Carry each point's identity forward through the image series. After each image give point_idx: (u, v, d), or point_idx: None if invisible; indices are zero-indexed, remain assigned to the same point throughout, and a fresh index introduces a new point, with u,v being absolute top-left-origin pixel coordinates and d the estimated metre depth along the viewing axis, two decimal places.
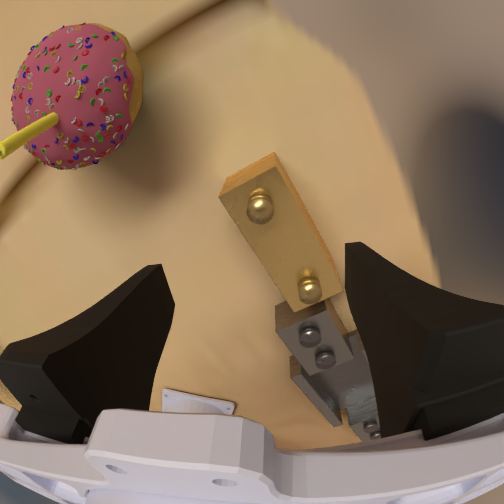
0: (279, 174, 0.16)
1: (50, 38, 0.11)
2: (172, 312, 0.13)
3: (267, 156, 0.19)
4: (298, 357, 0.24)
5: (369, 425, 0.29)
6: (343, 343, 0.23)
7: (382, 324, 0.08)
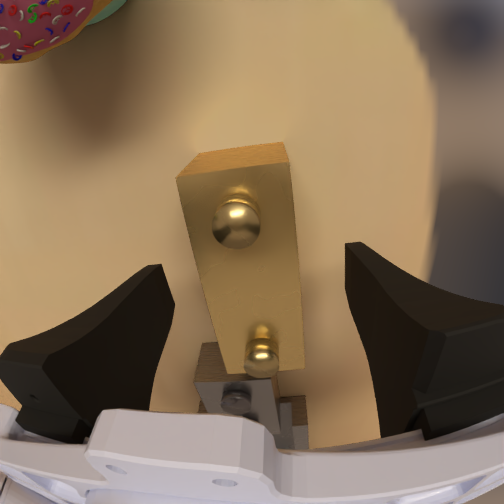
0: (289, 178, 0.09)
1: None
2: (172, 312, 0.13)
3: (271, 144, 0.12)
4: None
5: None
6: (275, 417, 0.17)
7: (382, 324, 0.08)
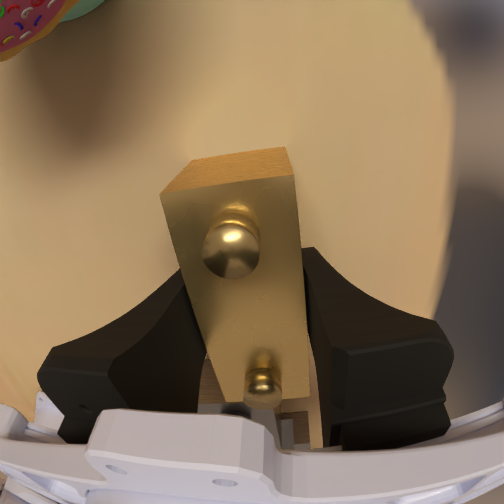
0: (293, 193, 0.08)
1: None
2: None
3: (272, 150, 0.11)
4: None
5: None
6: (276, 436, 0.15)
7: (317, 333, 0.08)
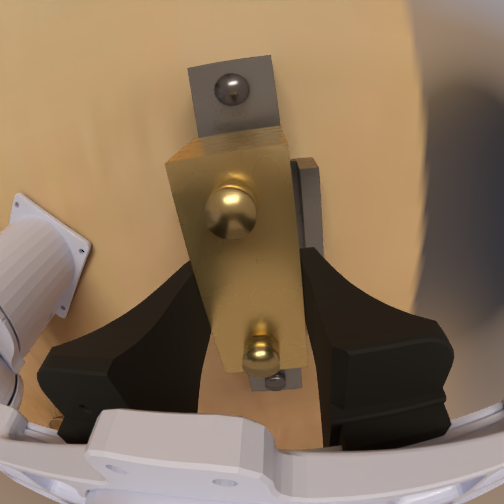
0: (287, 161, 0.09)
1: None
2: None
3: (269, 128, 0.11)
4: (202, 132, 0.15)
5: None
6: None
7: (317, 333, 0.08)
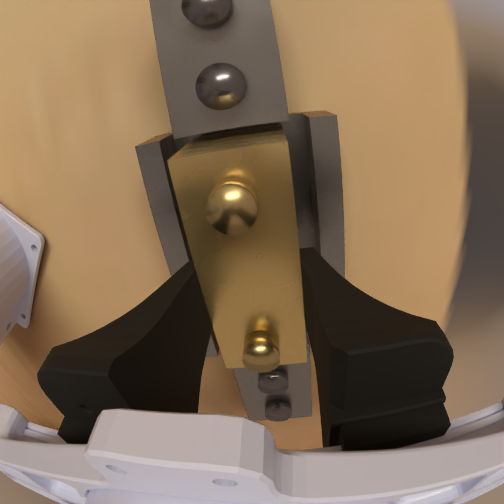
0: (287, 158, 0.09)
1: None
2: None
3: (269, 127, 0.11)
4: (165, 67, 0.09)
5: (272, 374, 0.15)
6: (275, 58, 0.09)
7: (317, 333, 0.08)
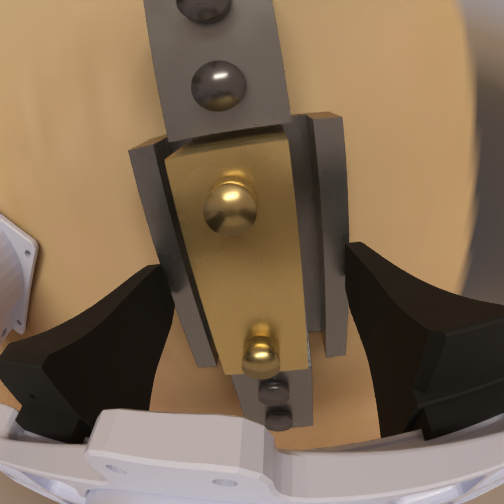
0: (288, 158, 0.08)
1: None
2: (172, 312, 0.13)
3: (269, 127, 0.11)
4: (159, 66, 0.09)
5: (272, 385, 0.15)
6: (277, 55, 0.08)
7: (382, 324, 0.08)
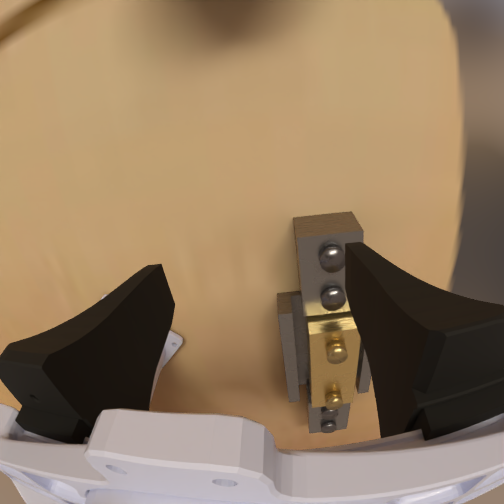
0: None
1: None
2: (172, 312, 0.13)
3: None
4: (304, 285, 0.20)
5: None
6: None
7: (382, 324, 0.08)
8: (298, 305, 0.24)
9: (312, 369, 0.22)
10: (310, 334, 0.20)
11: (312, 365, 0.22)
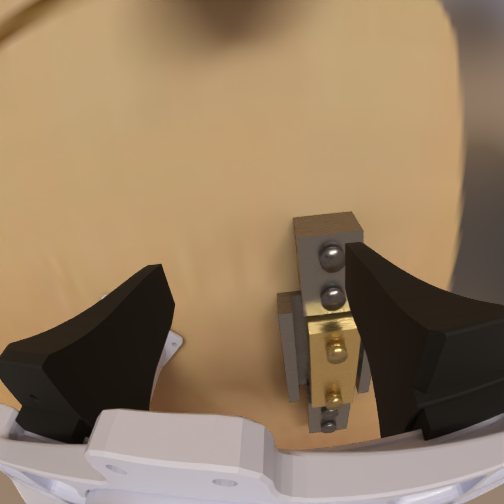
0: None
1: None
2: (172, 312, 0.13)
3: None
4: (304, 285, 0.20)
5: None
6: None
7: (382, 324, 0.08)
8: (298, 305, 0.24)
9: (312, 369, 0.22)
10: (310, 334, 0.20)
11: (312, 365, 0.22)
